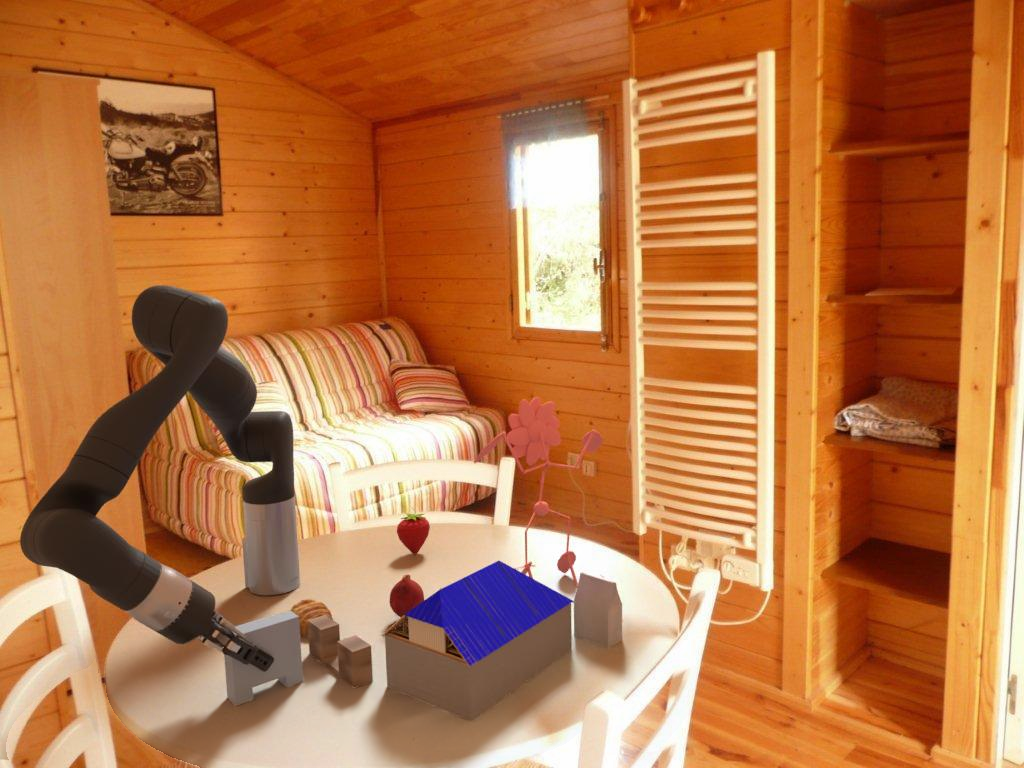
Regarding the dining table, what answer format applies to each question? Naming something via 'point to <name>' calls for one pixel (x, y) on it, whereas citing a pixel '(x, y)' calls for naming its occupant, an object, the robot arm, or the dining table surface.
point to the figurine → (533, 441)
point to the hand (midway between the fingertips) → (263, 660)
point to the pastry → (309, 613)
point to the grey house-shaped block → (597, 611)
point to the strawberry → (413, 531)
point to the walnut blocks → (340, 651)
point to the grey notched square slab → (278, 641)
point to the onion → (405, 596)
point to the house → (477, 640)
